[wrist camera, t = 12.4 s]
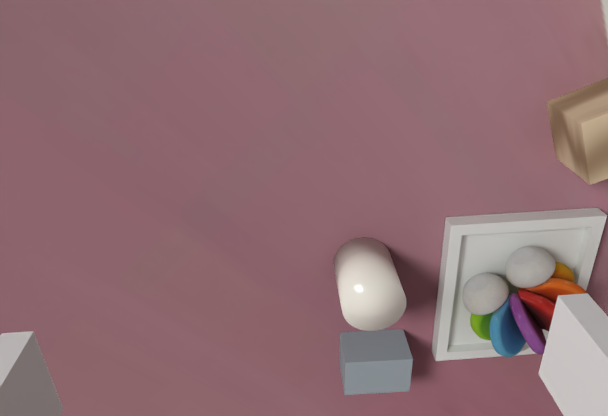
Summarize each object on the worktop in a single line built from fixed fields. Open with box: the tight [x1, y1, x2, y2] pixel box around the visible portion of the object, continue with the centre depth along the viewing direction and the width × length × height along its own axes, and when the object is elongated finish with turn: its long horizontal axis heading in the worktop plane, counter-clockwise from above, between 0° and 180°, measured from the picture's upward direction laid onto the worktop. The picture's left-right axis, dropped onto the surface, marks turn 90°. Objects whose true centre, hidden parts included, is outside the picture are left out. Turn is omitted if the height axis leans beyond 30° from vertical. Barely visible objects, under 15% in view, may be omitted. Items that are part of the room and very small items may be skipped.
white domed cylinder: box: [334, 237, 406, 331], centre depth 42 cm, size 5×5×6 cm
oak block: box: [546, 78, 608, 185], centre depth 37 cm, size 5×5×5 cm
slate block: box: [340, 329, 413, 395], centre depth 48 cm, size 4×6×4 cm, turn 91°
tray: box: [432, 208, 607, 361], centre depth 46 cm, size 15×13×1 cm
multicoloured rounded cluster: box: [462, 246, 587, 357], centre depth 43 cm, size 8×10×7 cm
